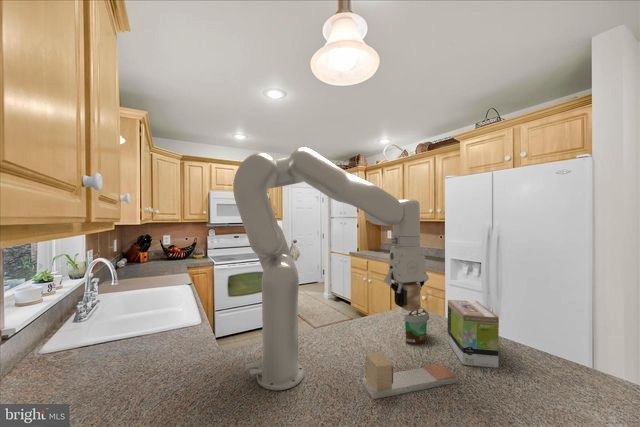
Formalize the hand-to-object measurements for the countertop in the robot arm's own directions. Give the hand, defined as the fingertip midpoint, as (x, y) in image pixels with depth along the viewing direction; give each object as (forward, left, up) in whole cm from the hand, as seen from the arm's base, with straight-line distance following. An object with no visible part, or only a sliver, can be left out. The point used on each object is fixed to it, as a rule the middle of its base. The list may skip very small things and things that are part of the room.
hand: (407, 303), depth 79 cm
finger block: (0, 0, -1) cm, 1 cm away
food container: (+13, +12, -18) cm, 25 cm away
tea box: (+23, 0, -18) cm, 29 cm away
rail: (-4, -8, -18) cm, 20 cm away
